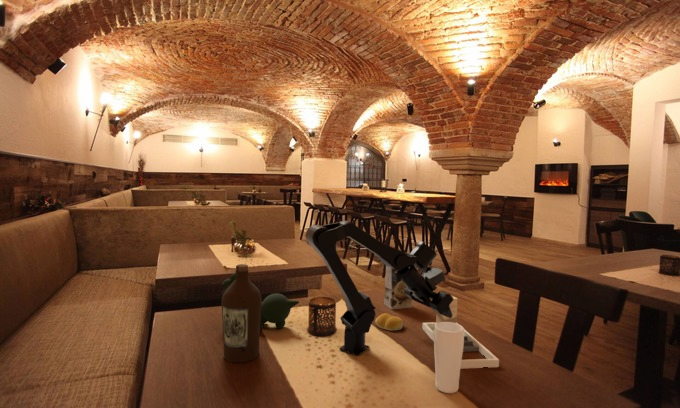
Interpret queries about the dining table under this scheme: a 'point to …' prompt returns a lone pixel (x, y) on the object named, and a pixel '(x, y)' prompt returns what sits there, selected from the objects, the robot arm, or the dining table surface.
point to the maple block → (453, 309)
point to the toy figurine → (270, 306)
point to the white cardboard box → (395, 292)
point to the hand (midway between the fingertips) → (442, 312)
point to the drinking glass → (448, 355)
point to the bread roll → (389, 322)
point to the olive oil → (241, 318)
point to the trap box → (468, 349)
